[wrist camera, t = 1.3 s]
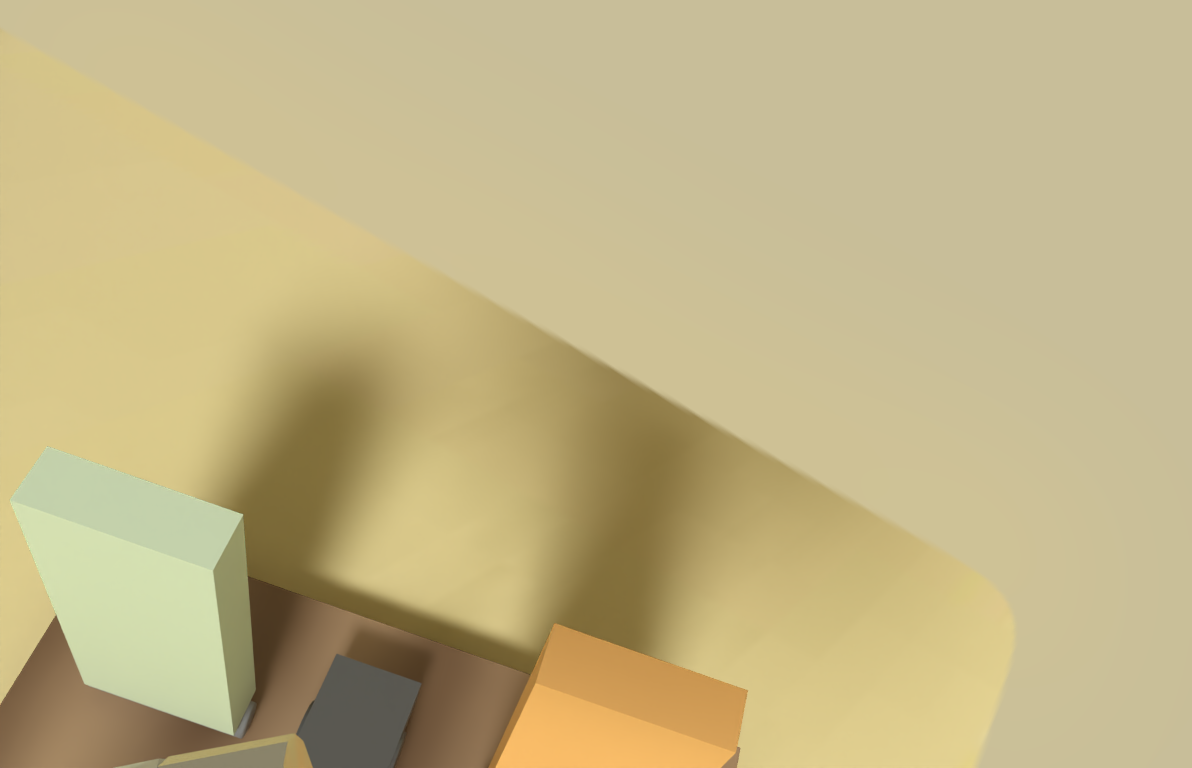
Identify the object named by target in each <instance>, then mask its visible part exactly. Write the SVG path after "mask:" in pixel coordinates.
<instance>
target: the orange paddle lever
mask: <svg viewBox="0 0 1192 768" xmlns="http://www.w3.org/2000/svg"><path fill="white" fill-rule="evenodd" d="M747 692H748V690H745V689H742V688H739V687H736V686H733V685H731V684H728V683H725V682H722V681H719V680H716V679H713V678H711V677H708V676H705V675H702V674H699V673H696V672H693V671H690V670H688V669H685V668H682V667H679V666H676V665H673V664H670V663H668V662H665V661H662V660H659V659H656V658H653V657H650V656H647V655H645V654H642V653H639V652H636V651H633V650H630V649H627V648H625V647H622V646H619V645H616V644H613V643H610V642H607V641H604V640H602V639H599V638H596V637H593V636H590V635H587V634H584V633H582V632H579V631H576V630H573V629H570V628H567V627H564V626H561V625H559V624H556V623H554V625H553V627H552V630H551V632H550V634H549V636H548V638H547V641H546V643H545V645H544V647H543V649H542V652H541V654H540V656H539V658H538V660H537V662H536V665H535V667H534V669H533V671H532V673H531V676H530V678H529V680H528V682H527V684H526V686H525V689H524V691H523V693H522V695H521V697H520V700H519V702H518V704H517V706H516V708H515V710H514V713H513V715H512V717H511V719H510V721H509V724H508V726H507V728H506V730H505V732H504V735H503V737H502V739H501V741H500V743H499V745H498V748H497V750H496V752H495V754H494V756H493V759H492V761H491V763H490V765H489V767H488V768H721V767H722V766H723V765H724V764H725V763H726V762H727V761H728V760H729V759H730V758H731V757H732V756H733V755H734V754H735V753H736V750H737V745H738V739H739V734H740V729H741V724H742V718H743V713H744V708H745V703H746V697H747Z"/></svg>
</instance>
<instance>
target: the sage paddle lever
mask: <svg viewBox="0 0 1192 768" xmlns="http://www.w3.org/2000/svg"><path fill="white" fill-rule="evenodd" d="M10 502H11V505H12V507H13V510H14V512H15V514H16V517H17V519H18V522H19V524H20V527H21V529H22V532H23V534H24V537H25V539H26V542H27V544H28V546H29V549H30V551H31V554H32V556H33V559H34V561H35V564H36V566H37V569H38V571H39V574H40V576H41V578H42V581H43V583H44V586H45V588H46V591H47V593H48V596H49V598H50V601H51V603H52V605H53V608H54V610H55V613H56V615H57V618H58V620H59V623H60V625H61V628H62V630H63V633H64V635H65V637H66V640H67V642H68V645H69V647H70V650H71V652H72V655H73V657H74V660H75V662H76V665H77V667H78V669H79V672H80V674H81V677H82V679H83V682H84V684H86V685H88V686H89V687H92V688H95V689H98V690H101V691H104V692H107V693H110V694H113V695H115V696H118V697H121V698H124V699H127V700H130V701H133V702H136V703H139V704H141V705H144V706H147V707H150V708H153V709H156V710H159V711H162V712H165V713H168V714H170V715H173V716H176V717H179V718H182V719H185V720H188V721H191V722H194V723H196V724H199V725H202V726H205V727H208V728H211V729H214V730H217V731H220V732H222V733H225V734H228V735H231V736H234V737H237V738H240V739H242V738H243V737H244V735H245V734H246V732H247V730H248V728H249V726H250V724H251V721H252V719H253V716H254V713H255V710H256V706H257V703H256V702H253V701H251V699H252V697H253V695H254V693H255V690H256V684H255V671H254V657H253V643H252V629H251V615H250V601H249V587H248V574H247V560H246V546H245V532H244V518H243V514H240V513H238V512H235V511H232V510H229V509H226V508H223V507H220V506H218V505H215V504H212V503H209V502H206V501H203V500H200V499H197V498H195V497H192V496H189V495H186V494H183V493H180V492H177V491H175V490H172V489H169V488H166V487H163V486H160V485H157V484H154V483H152V482H149V481H146V480H143V479H140V478H137V477H134V476H132V475H129V474H126V473H123V472H120V471H117V470H114V469H111V468H109V467H106V466H103V465H100V464H97V463H94V462H91V461H89V460H86V459H83V458H80V457H77V456H74V455H71V454H68V453H66V452H63V451H60V450H57V449H54V448H51V447H48V446H47V447H46V449H45V450H44V452H43V453H42V454H41V456H40V457H39V459H38V460H37V462H36V463H35V464H34V466H33V467H32V469H31V470H30V472H29V473H28V474H27V476H26V477H25V479H24V480H23V482H22V483H21V484H20V486H19V487H18V489H17V490H16V492H15V493H14V495H13V496H12V497H11V499H10Z"/></svg>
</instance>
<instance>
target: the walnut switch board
mask: <svg viewBox="0 0 1192 768" xmlns="http://www.w3.org/2000/svg"><path fill="white" fill-rule="evenodd" d="M248 587H249V601H250V615H251V629H252V643H253V657H254V671H255V684H256V690H255V693H254V695H253V697H252V699H251V701H253V702H256V703H257V706H256V710H255V713H254V716H253V719H252V721H251V724H250V726H249V728H248V730H247V732H246V734H245V735H244V737H243V738H242V739H240V738H237V737H234V736H231V735H228V734H225V733H222V732H220V731H217V730H214V729H211V728H208V727H205V726H202V725H199V724H196V723H194V722H191V721H188V720H185V719H182V718H179V717H176V716H173V715H170V714H168V713H165V712H162V711H159V710H156V709H153V708H150V707H147V706H144V705H141V704H139V703H136V702H133V701H130V700H127V699H124V698H121V697H118V696H115V695H113V694H110V693H107V692H104V691H101V690H98V689H95V688H92V687H89V686H88V685H86V684H84V682H83V679H82V677H81V674H80V672H79V669H78V667H77V665H76V662H75V660H74V657H73V655H72V652H71V650H70V647H69V645H68V642H67V640H66V637H65V635H64V633H63V630H62V628H61V625H60V623H59V620H58V618H57V615H56V616H55V618H54V619H53V621H52V622H51V624H50V626H49V627H48V629H47V630H46V632H45V634H44V635H43V637H42V639H41V640H40V642H39V643H38V645H37V647H36V648H35V650H34V651H33V653H32V655H31V656H30V658H29V659H28V661H27V663H26V664H25V666H24V668H23V669H22V671H21V672H20V674H19V676H18V677H17V679H16V680H15V682H14V684H13V685H12V687H11V688H10V690H9V692H8V693H7V695H6V697H5V698H4V700H3V701H2V703H1V705H0V768H115V767H120V766H125V765H130V764H135V763H140V762H145V761H150V760H155V759H166V758H167V757H169V756H174V755H179V754H185V753H190V752H196V751H201V750H206V749H212V748H217V747H222V746H228V745H233V744H239V743H244V742H249V741H255V740H260V739H266V738H271V737H276V736H282V735H287V734H292V733H295V734H296V733H297V731H298V728H299V726H300V723H301V721H302V719H303V717H304V715H305V713H306V711H307V709H308V707H309V705H310V704H311V702H312V701H313V700H315V699H316V697H317V694H318V692H319V690H320V688H321V686H322V684H323V682H324V679H325V677H326V675H327V673H328V671H329V669H330V667H331V664H332V662H333V660H334V658H335V656H336V654H339V655H342V656H345V657H348V658H351V659H353V660H356V661H359V662H362V663H365V664H368V665H371V666H374V667H377V668H379V669H382V670H385V671H388V672H391V673H394V674H397V675H400V676H402V677H405V678H408V679H411V680H414V681H417V682H420V683H422V684H421V687H420V691H419V694H418V697H417V700H416V703H415V705H414V708H413V710H412V713H411V716H410V718H409V721H408V723H407V726H406V728H405V731H404V732H407V733H406V737H405V740H404V743H403V746H402V749H401V752H400V755H399V758H398V761H397V764H396V766H395V768H488V767H489V765H490V763H491V761H492V759H493V756H494V754H495V752H496V750H497V748H498V745H499V743H500V741H501V739H502V737H503V735H504V732H505V730H506V728H507V726H508V724H509V721H510V719H511V717H512V715H513V713H514V710H515V708H516V706H517V704H518V702H519V700H520V697H521V695H522V693H523V691H524V689H525V686H526V684H527V682H528V680H529V678H530V676H531V675H530V674H527V673H524V672H521V671H518V670H515V669H513V668H510V667H507V666H504V665H501V664H498V663H495V662H492V661H490V660H487V659H484V658H481V657H478V656H475V655H472V654H469V653H467V652H464V651H461V650H458V649H455V648H452V647H449V646H446V645H444V644H441V643H438V642H435V641H432V640H429V639H426V638H423V637H421V636H418V635H415V634H412V633H409V632H406V631H403V630H401V629H398V628H395V627H392V626H389V625H386V624H383V623H380V622H378V621H375V620H372V619H369V618H366V617H363V616H360V615H357V614H355V613H352V612H349V611H346V610H343V609H340V608H337V607H334V606H332V605H329V604H326V603H323V602H320V601H317V600H314V599H311V598H309V597H306V596H303V595H300V594H297V593H294V592H291V591H288V590H286V589H283V588H280V587H277V586H274V585H271V584H268V583H265V582H263V581H260V580H257V579H254V578H251V577H248ZM739 753H740V747H737V750H736V753H735V754H734V755H733V756H732V757H731V758H730V759H729V760H728V761H727V762H726V763H725V764H724V765H723V766H722V767H721V768H737V763H738V758H739Z"/></svg>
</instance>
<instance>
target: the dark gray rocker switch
mask: <svg viewBox="0 0 1192 768" xmlns="http://www.w3.org/2000/svg"><path fill="white" fill-rule="evenodd" d="M421 684H422V683H420V682H417V681H414V680H411V679H408V678H405V677H402V676H400V675H397V674H394V673H391V672H388V671H385V670H382V669H379V668H377V667H374V666H371V665H368V664H365V663H362V662H359V661H356V660H353V659H351V658H348V657H345V656H342V655H339V654H336V656H335V658H334V660H333V662H332V664H331V667H330V669H329V671H328V673H327V675H326V677H325V679H324V682H323V684H322V686H321V688H320V690H319V692H318V694H317V697H316V699H315V700H313V701H312V702H311V704H310V705H309V707H308V709H307V711H306V713H305V715H304V717H303V719H302V721H301V723H300V726H299V728H298V731H297V733H296V735H297V736H298V737H299V738H301V739H302V740H303V741H304V744H305V747H306V750H307V753H308V755H309V758H310V761H311V764H312V767H313V768H395V766H396V764H397V761H398V758H399V755H400V752H401V749H402V746H403V743H404V740H405V737H406V733H407V732H404V731H405V728H406V726H407V723H408V721H409V718H410V716H411V713H412V710H413V708H414V705H415V703H416V700H417V697H418V694H419V691H420V687H421Z"/></svg>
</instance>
